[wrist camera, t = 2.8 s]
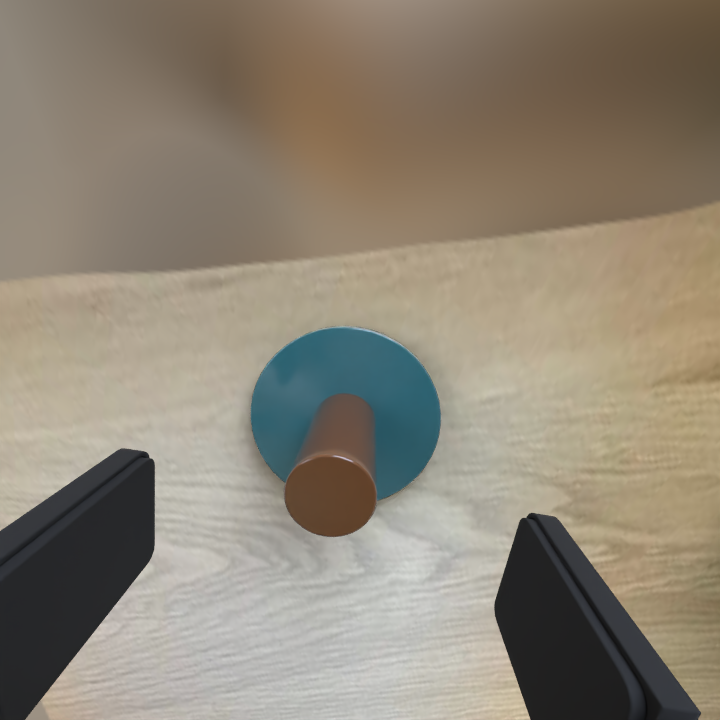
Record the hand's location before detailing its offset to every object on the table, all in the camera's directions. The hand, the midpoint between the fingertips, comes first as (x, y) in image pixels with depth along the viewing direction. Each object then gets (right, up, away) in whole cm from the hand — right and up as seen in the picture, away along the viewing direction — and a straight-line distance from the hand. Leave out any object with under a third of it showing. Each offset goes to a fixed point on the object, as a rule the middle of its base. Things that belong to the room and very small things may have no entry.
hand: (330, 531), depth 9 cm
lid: (0, +2, +7) cm, 8 cm away
